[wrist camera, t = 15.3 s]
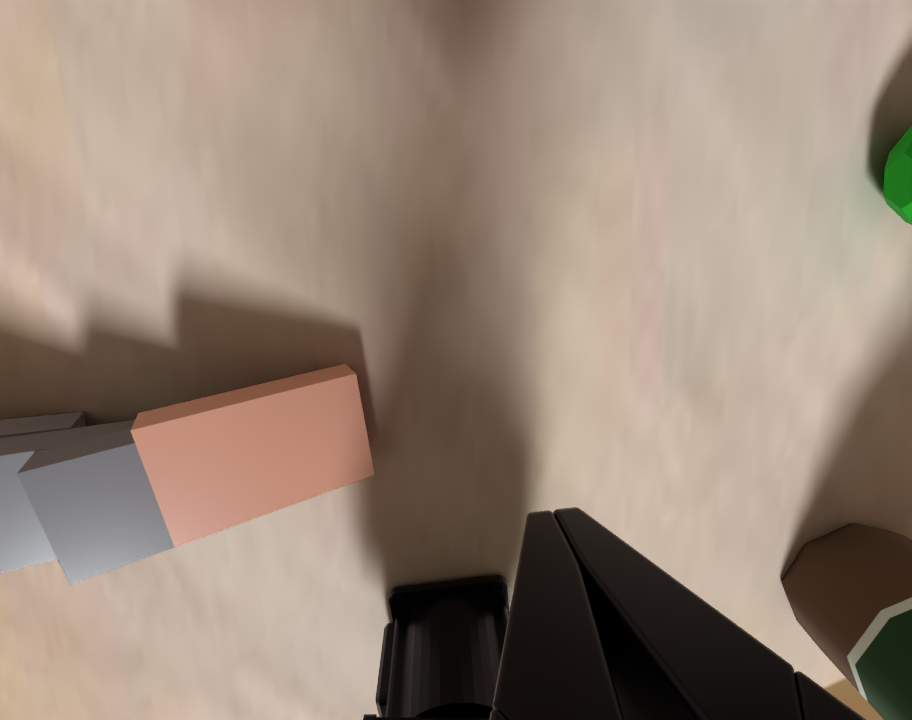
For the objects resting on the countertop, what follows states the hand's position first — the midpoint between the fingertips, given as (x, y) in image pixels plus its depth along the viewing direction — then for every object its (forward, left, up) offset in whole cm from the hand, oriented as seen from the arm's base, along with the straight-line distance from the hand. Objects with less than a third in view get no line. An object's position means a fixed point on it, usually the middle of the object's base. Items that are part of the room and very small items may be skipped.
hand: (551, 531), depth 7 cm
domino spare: (+6, +3, -12) cm, 14 cm away
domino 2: (+10, +4, -12) cm, 16 cm away
